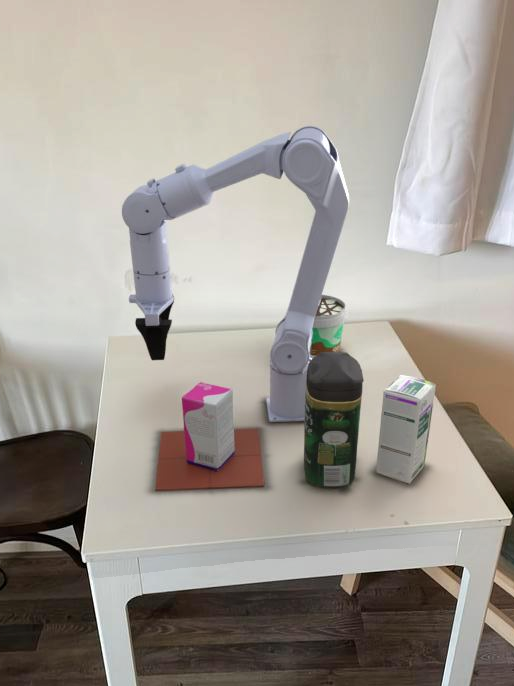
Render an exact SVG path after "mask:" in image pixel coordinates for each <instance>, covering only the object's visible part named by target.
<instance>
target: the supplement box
mask: <svg viewBox="0 0 514 686" xmlns="http://www.w3.org/2000/svg"><path fill="white" fill-rule="evenodd" d="M233 391H234V390H233V388H229V387H224V386H220V385H215V384H210V383H205V382H201V381H200V382H199V383H197V384H196V385H195V386H194V387H193V388H192V389H190V390H189V391H188V392H186V393H185V394H184V395H183V396H182V397H181V406H182V407H181V408H182V418H183V419H182V420H183V431H184V434H185V447H186V461H187V463H189V464H193V465H197V466H201V467H204V468H208V469H212V470H215V471H219V470H220V469H221V468H222V467H223V465H224V464H225V463H226V462H227V461H228V460H229V459H230V458H231V457H232V456H233V455H234V453H235V447H234V429H235V424H234V423H235V421H234V419H235V417H234V392H233Z"/></svg>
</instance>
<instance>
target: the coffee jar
mask: <svg viewBox="0 0 514 686" xmlns="http://www.w3.org/2000/svg"><path fill="white" fill-rule="evenodd" d="M363 375H364V374H363V369H362V367H361V365H360V362H359V361H358V360H357V359H356V358H355V357H353V356H351V355H350V354H349V353H348V352H341V351H339V352H321V353H320V354H319V355H317V356H315V357H314V358H313V359H312V360H311V361H310V362H309V364H308V369H307V379H306V395H305V421H304V423H303V424H304V425H303V427H304V428H303V429H304V434H303V435H304V436H303V437H304V438H303V439H304V441H303V473H304V476H305V479H306V481H307V482H308V483H309V484H311V485H313V486H316V487H320V488H323V489H339V488H343V487H347V486H349V485H351V484H352V483H353V482H354V481H355V478H356V469H357V456H358V444H359V442H358V441H359V432H360V421H361V419H360V418H361V408H362V399H363V383H364V376H363Z"/></svg>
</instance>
